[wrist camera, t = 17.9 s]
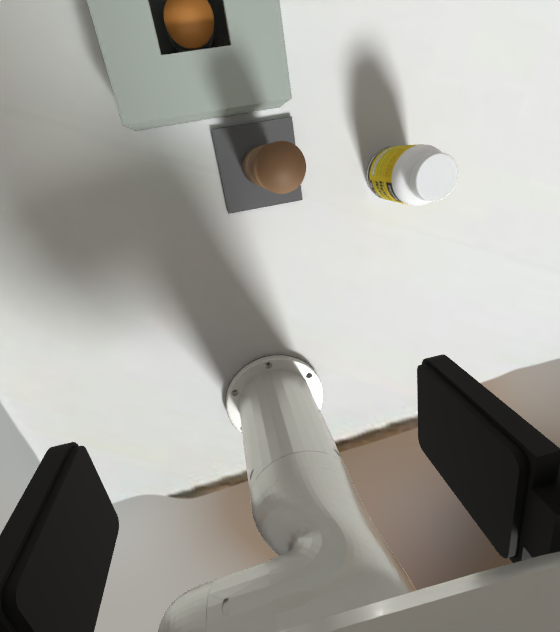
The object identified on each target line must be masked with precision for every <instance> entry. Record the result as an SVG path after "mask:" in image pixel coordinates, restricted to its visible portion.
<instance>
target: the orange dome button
mask: <svg viewBox="0 0 560 632" xmlns="http://www.w3.org/2000/svg"><path fill="white" fill-rule="evenodd" d="M164 22H165V25H166V29H167V32H168V35H169V38H170V40H171V42H172V44H173V46H174V47H175V48H176V49H177V50H178V51H179V52H187V51H194V50H201V49H208V48H210V47H211V45H212V42H213V37H214V15H213V11H212V8H211V6H210V4H209V2H208V1H207V0H167V1H166V3H165V6H164Z"/></svg>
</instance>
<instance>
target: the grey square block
mask: <svg viewBox="0 0 560 632" xmlns="http://www.w3.org/2000/svg"><path fill="white" fill-rule="evenodd" d="M87 3H88V7H89V10H90V14H91V17H92V21H93V24H94V27H95V31H96V34H97V38H98V41H99V45H100V48H101V52H102V55H103V58H104V62H105V65H106V69H107V72H108V76H109V79H110V83H111V86H112V90H113V93H114V96H115V100H116V103H117V107H118V110H119V114H120V117H121V121H122V124H123V125H124V126H126V127H129V128H131V129H133V130H143V129H149V128H155V127H161V126H167V125H174V124H180V123H186V122H192V121H198V120H205V119H211V118H217V117H223V116H229V115H236V114H242V113H248V112H254V111H260V110H267V109H273V108H279V107H281V106H282V105H283V104H285V103H286V102H287V101H289V100H290V99H291V98H292V96H291V88H290V80H289V72H288V65H287V57H286V49H285V41H284V33H283V25H282V17H281V9H280V2H279V0H223V6H224V12H225V17H226V23H227V29H228V34H229V40H230V45H229V46H222V47H215V48H208V49H201V50H194V51H187V52H180V53H173V54H166V55H161V51H160V46H159V42H158V38H157V34H156V30H155V25H154V21H153V17H152V13H151V9H150V4H149V0H87Z"/></svg>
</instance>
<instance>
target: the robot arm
mask: <svg viewBox="0 0 560 632" xmlns="http://www.w3.org/2000/svg"><path fill="white" fill-rule="evenodd" d="M268 362H269V363H268ZM417 385H418V439H419V444H420V446H421V448H422V450H423V452H424V453H425V454H426V456H427V457H428V458H429V460H430V461H431V462H432V464H433V465H434V466H435V468H436V469H437V471H438V472H439V473H440V475H441V476H442V477H443V479H444V480H445V481H446V483H447V484H448V485H449V487H450V488H451V490H452V491H453V492H454V494H455V495H456V496H457V498H458V499H459V500H460V501H461V503H462V504H463V506H464V507H465V508H466V510H467V511H468V512H469V514H470V515H471V516H472V518H473V519H474V520H475V522H476V523H477V525H478V526H479V527H480V529H481V530H482V531H483V533H484V534H485V535H486V537H487V538H488V539H489V541H490V542H491V544H492V545H493V546H494V547H495V549H496V550H497V552H498V553H499V554H500V555H501V556H502V557H503V558H510V560H511V561H512V562H513V563H512V564H509V565H504V566H501V567H497V568H493V569H490V570H486V571H483V572H479V573H475V574H472V575H468V576H465V577H461V578H458V579H455V580H451V581H448V582H444V583H441V584H438V585H434V586H431V587H427V588H424V589H420V590H417V591H416V589H415V587H414V586H413V584H412V582H411V581H410V579H409V577H408V576H407V574H406V572H405V571H404V569H403V568H402V566H401V565H400V563H399V562H398V560H397V559H396V557H395V556H394V554H393V553H392V551H391V550H390V548H389V547H388V546H387V544H386V542H385V541H384V539H383V538H382V536H381V535H380V533H379V532H378V530H377V529H376V527H375V525H374V524H373V522H372V520H371V519H370V517H369V515H368V513H367V511H366V509H365V507H364V505H363V503H362V501H361V499H360V497H359V495H358V493H357V491H356V489H355V487H354V485H353V482H352V480H351V478H350V476H349V474H348V471H347V469H346V467H345V465H344V462H343V460H342V458H341V456H340V453H339V451H338V449H337V447H336V444H335V442H334V440H333V438H332V436H331V433H330V431H329V429H328V427H327V424H326V422H325V420H324V418H323V416H322V413H321V411H320V408H321V406H322V401H323V389H322V385H321V382H320V380H319V378H318V376H317V374H316V373H315V371H314V370H313V369H312V368H311V367H310V366H309V365H308V364H307V363H305V362H303V361H302V360H300V359H297V358H294V357H291V356H285V355H273V356H267V357H263V358H260V359H257V360H255V361H253V362H251V363H250V364H248V365H246V366H245V367H244V368H243V369H241V370H240V371H239V372H238V373H237V375H236V376H235V377H234V378H233V380H232V382H231V383H230V385H229V388H228V391H227V397H226V407H227V413H228V416H229V419H230V420H231V422H232V424H233V425H234V426H235V427H236V429H237V430H238V431H240V432H241V433H242V435H243V443H244V451H245V459H246V467H247V475H248V483H249V491H250V499H251V507H252V514H253V519H254V521H255V524H256V527H257V529H258V531H259V533H260V534H261V536H262V538H263V539H264V541H265V542H266V543H267V544H268V545H269V546H270V548H271V549H272V550H273V551H274V552H275V553H276V554H278V555H279V556H278V557H276V558H273V559H270V561H268V562H265V563H262V564H259V565H257V566H254V567H251V568H248V569H245V570H242V571H239V572H236V573H234V574H230V575H228V576H225V577H222V578H219V579H216V580H213V581H210V582H207V583H205V584H202V585H200V586H198V587H195V588H193V589H191V590H189V591H187V592H185V593H184V594H182V595H181V596H179V597H178V598H177V599H176V600H175V601H174V602H173V603H172V604H171V605H170V607H169V608H168V609H167V611H166V612H165V614H164V616H163V618H162V620H161V623H160V626H159V630H158V632H560V448H559V447H557V446H556V445H555V444H554V443H552V442H551V441H550V440H549V439H548V438H546V437H545V436H544V435H543V434H541V433H540V432H539V431H538V430H537V429H535V428H534V427H533V426H532V425H530V424H529V423H528V422H527V421H526V420H524V419H523V418H522V417H521V416H519V415H518V414H517V413H516V412H514V411H513V410H512V409H511V408H509V407H508V406H507V405H506V404H505V403H503V402H502V401H501V400H500V399H499V398H497V397H496V396H495V395H494V394H492V393H491V392H490V391H489V390H487V389H486V388H485V387H484V386H483V385H481V384H480V383H479V382H478V381H477V380H475V379H474V378H473V377H472V376H470V375H469V374H468V373H467V372H466V371H464V370H463V369H462V368H461V367H459V366H458V365H457V364H456V363H454V362H453V361H452V360H451V359H450V358H448V357H447V356H445V355H439V356H435V357H430V358H426V359H424V360H423V362H422V365H419V366H418V368H417ZM118 530H119V521H118V516H117V514H116V512H115V510H114V508H113V505H112V503H111V501H110V499H109V497H108V495H107V492H106V490H105V488H104V486H103V484H102V482H101V480H100V477H99V475H98V473H97V471H96V469H95V467H94V465H93V462H92V460H91V458H90V456H89V454H88V452H87V450H86V448H85V447H84V446H78V444H77V443H75V442H71V443H67V444H63V445H59V446H54V447H51V448H49V449H48V451H47V452H46V454H45V456H44V458H43V459H42V461H41V463H40V465H39V467H38V468H37V470H36V472H35V474H34V476H33V478H32V479H31V481H30V483H29V485H28V486H27V488H26V490H25V492H24V494H23V495H22V497H21V499H20V501H19V502H18V504H17V506H16V508H15V510H14V512H13V513H12V515H11V517H10V519H9V521H8V522H7V524H6V526H5V528H4V530H3V531H2V533H1V535H0V632H94V629H95V625H96V621H97V617H98V612H99V608H100V604H101V600H102V596H103V592H104V588H105V584H106V580H107V576H108V571H109V567H110V563H111V559H112V555H113V551H114V547H115V542H116V539H117V535H118Z"/></svg>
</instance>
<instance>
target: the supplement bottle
mask: <svg viewBox="0 0 560 632" xmlns="http://www.w3.org/2000/svg"><path fill="white" fill-rule="evenodd" d="M457 179H458V167H457V164H456V162H455V160H454V159H453V158H452V157H451V156H450V155H448V154H445V153H442V152H441V151H440V150H439V149H437V148H435V147H433V146H431V145H404V146H391V147H386V148H384V149H382V150H380V151H379V152H377V153H376V154H375V155H374V157H373V158H372V159H371V161H370V163H369V166H368V169H367V182H368V186H369V188H370V189H371V191H372V192H373V193H374V194H375V195H376V196H378V197H380V198H383V199H386V200H391V201H395V202H399V203H403V204H407V205H413V206H420V205H424V204H427V203H429V202H431V201H432V202H433V201H439V200H442V199H444V198H445V197H447V196H448V195H449V194H450V193H451V192H452V190H453V189H454V187H455V185H456V183H457Z"/></svg>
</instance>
